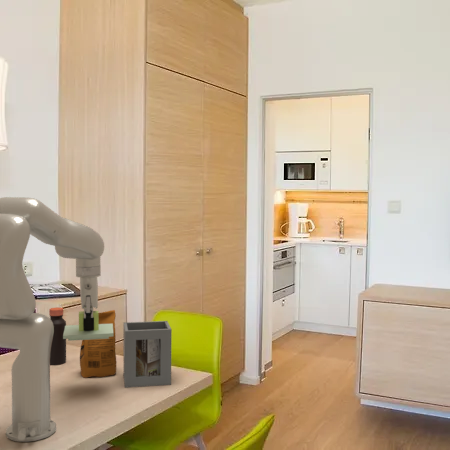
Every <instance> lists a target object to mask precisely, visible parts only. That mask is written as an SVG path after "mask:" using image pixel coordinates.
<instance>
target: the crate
mask: <svg viewBox="0 0 450 450" xmlns="http://www.w3.org/2000/svg"><path fill="white" fill-rule="evenodd" d="M143 329H148V330H143ZM147 339H160V375H159V376H149V377H147V376H142V377H136V340H147ZM122 347H123V353H122V355H123V356H122V357H123V361H122V362H123V364H122V365H123V367H122V368H123V372H122V373H123V383H124V388H139V387H154V386H170V385H172V328H171V326H170V323H169V322H168V320H157V321H156V320H155V321H134V322H133V321H129V322H128V321H127V322H126V321H125V322H123V346H122Z"/></svg>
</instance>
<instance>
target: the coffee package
mask: <svg viewBox="0 0 450 450" xmlns="http://www.w3.org/2000/svg"><path fill="white" fill-rule="evenodd" d="M98 314H99V324H112V323H113V335H114V336H113V337H109V339H91V340H81V344H80V351H79V366H80V367H79V368H80V376H82V378H85V379H86V378H92V377H97V378H103V377H105V378H106V377H110V376H114V375H116V372H117V355H116V323H115V322H116V310H115V309H112V310H108V311H101V312H98Z"/></svg>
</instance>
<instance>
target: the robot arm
mask: <svg viewBox="0 0 450 450" xmlns="http://www.w3.org/2000/svg"><path fill="white" fill-rule="evenodd" d="M31 236H32V237H34V238H36V239H37V240H39V241H40V242H41V243H42V244H43V243H44V244H45V245H50V246H53V247H54V249H55V252H56V254H57V255H58V256H59V257H61V258H64V259H69V260H70V259H74V260H75V277H76V278H79V286H80V287H79V290H80V292H79V293H80V304H81V305H80V306H81V309H82V310H83V311H84V318H83V330H84V331H92V330H94V317H93V311H94V308H95V309H98V307H99V303H98V302H99V298H98V297H99V295H98V294H99V288H98V287H99V286H98V285H99V282H98V277H101V271H102V270H101V256H102V255H103V254H104V251H105V242H104V239H103V238H102V236H101V235H100V234H99V233H98V232H97V231H96V230H94V228H91V227H90V226H88V225H85V224H82V223H80V222H76V221H74V220H71V219H70V218H69V219H68V218H66V217H63V216H60V215H58V213H56V212H55V211H54V210H52V209H51V208H50V207H49V206H47V205H46V204H44V203H43V202H42V201H40V200H39V199H37V198H35V197H34V198H32V197H19V196H18V197H16V196H14V197H11V196H9V197H8V196H6V197H5V196H4V197H0V348H5V349H11V350H13V349H14V350H18V351H19V353H18V354H17V356H16V357H15V359H14V361H13V363H12V365H11V424H10V425H9V426H7V427H6V429H5V436H6V437H7V439H9V440H11V441H15V442H21V443H23V442H24V443H26V442H34V441H39V440H43V439H46V438H48V437H50V436H52V435H53V434H54V433H56V431H57V423H56V421H55V420H52V419H51V365H50V351H51V344H52V339H53V333H54V326H53V322H52V321H51V319H50V316H47V315H45V314H42V313H38V312H35V310H36V308H37V306H36V305H37V302H36V298H35V297H36V296H35V295H34V293H33V289H32V287H31V284H30V283H29V280H28V278H27V276H26V273H25V270H24V267H23V260H24V257H25V253H26V249H27V246H28V243H29V240H30V237H31Z"/></svg>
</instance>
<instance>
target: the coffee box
mask: <svg viewBox="0 0 450 450" xmlns="http://www.w3.org/2000/svg"><path fill="white" fill-rule="evenodd" d="M143 330H148V329H143ZM159 375H160V339H147V340H136V377H142V376H147V377H149V376H159Z"/></svg>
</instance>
